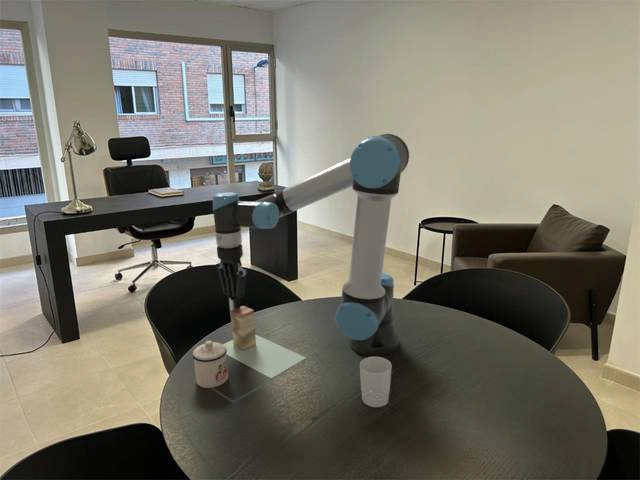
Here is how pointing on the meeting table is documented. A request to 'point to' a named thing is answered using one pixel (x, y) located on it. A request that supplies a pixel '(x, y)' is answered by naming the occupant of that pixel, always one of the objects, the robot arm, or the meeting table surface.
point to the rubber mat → (265, 357)
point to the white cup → (375, 381)
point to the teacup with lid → (210, 364)
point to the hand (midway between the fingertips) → (235, 316)
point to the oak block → (243, 328)
